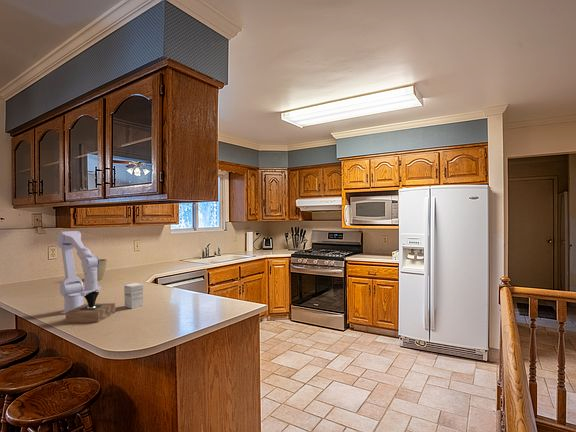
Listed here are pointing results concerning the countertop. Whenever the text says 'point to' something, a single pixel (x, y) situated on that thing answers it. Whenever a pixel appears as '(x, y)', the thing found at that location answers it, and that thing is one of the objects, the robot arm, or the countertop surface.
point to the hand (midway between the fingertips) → (91, 306)
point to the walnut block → (90, 313)
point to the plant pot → (101, 269)
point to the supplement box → (133, 295)
